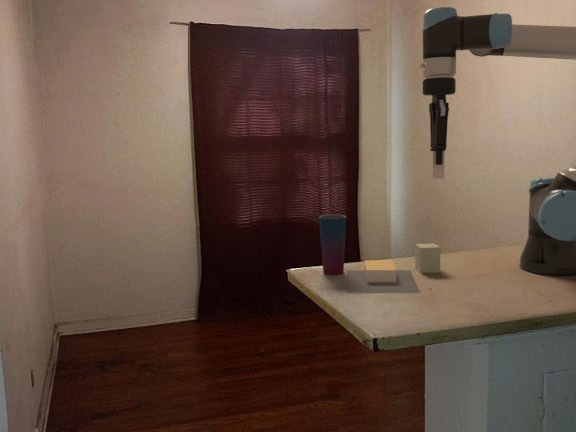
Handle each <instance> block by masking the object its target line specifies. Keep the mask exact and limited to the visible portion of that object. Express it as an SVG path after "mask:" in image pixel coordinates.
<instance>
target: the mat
mask: <svg viewBox="0 0 576 432" xmlns="http://www.w3.org/2000/svg"><path fill="white" fill-rule="evenodd" d="M346 281H347V282H346V285H347V286H346V289H347V294H352V293H354V294H356V293H357V294H360V293H361V294H371V293H372V294H376V293H377V294H378V293H380V294H382V293H383V294H385V293H386V294H391V293H393V294H394V293H395V294H405V293H406V294H408V293H409V294H413V293H414V294H419V293H421V291H420V289H419V287H418V285H417V283H416V282H417V281H416V280H415V278H414V276H413V274H412V272H411V270H405V269H404V270H402V269H401V270H397V269H396V282H366V277H365V270H346Z"/></svg>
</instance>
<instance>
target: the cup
mask: <svg viewBox="0 0 576 432" xmlns="http://www.w3.org/2000/svg"><path fill="white" fill-rule="evenodd" d="M318 220H319V234H320V247H321V257H322V269H323V270H322V271H323V274H324V275H328V276H339V275H342V274H344V272H345V271H344V267H345V253H346V252H345V251H346V249H345V248H346V247H345V246H346V229H347V215H344V214H324V215H319V217H318Z"/></svg>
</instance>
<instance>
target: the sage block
mask: <svg viewBox="0 0 576 432" xmlns="http://www.w3.org/2000/svg"><path fill="white" fill-rule="evenodd" d="M414 246H415V247H414V269H415V270H416V271H417V272H419V274H429V273H441V246H439V245H437V244H436V243H435V242H434V243H432V242H431V243H415V245H414Z"/></svg>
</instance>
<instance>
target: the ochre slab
mask: <svg viewBox="0 0 576 432" xmlns="http://www.w3.org/2000/svg"><path fill="white" fill-rule="evenodd" d="M396 270H397V268H396V265H395V263H394V261H393V259H392V260H390V259H389V260H388V259H386V260H385V259H384V260H383V259H382V260H379V259H375V260H374V259H370V260H367V259H366V260H364V271H365V277H366V282H396Z"/></svg>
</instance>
